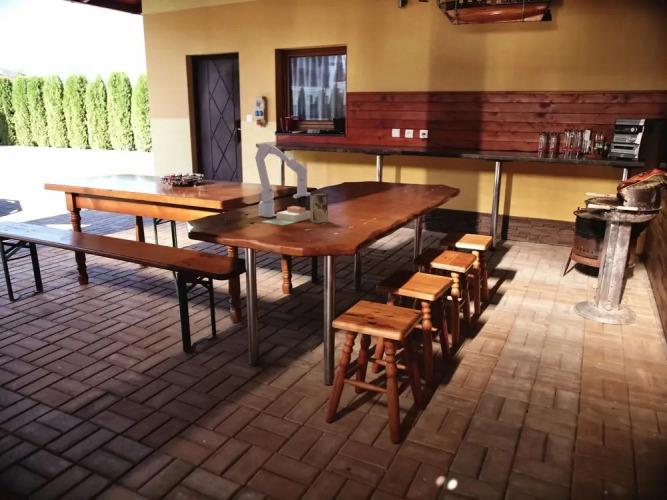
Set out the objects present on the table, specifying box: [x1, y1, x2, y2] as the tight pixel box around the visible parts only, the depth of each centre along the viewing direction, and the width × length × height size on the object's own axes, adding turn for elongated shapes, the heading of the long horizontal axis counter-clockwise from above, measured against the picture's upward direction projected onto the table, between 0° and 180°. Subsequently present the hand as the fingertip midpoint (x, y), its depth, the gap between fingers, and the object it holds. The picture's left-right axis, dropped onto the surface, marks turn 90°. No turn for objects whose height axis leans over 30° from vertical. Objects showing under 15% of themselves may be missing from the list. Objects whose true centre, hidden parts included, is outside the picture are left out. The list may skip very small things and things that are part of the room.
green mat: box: [261, 218, 297, 227], centre depth 304 cm, size 16×12×1 cm
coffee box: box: [309, 193, 329, 224], centre depth 305 cm, size 9×6×16 cm
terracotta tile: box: [286, 205, 306, 213], centre depth 315 cm, size 9×6×2 cm, turn 55°
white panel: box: [276, 210, 310, 223], centre depth 314 cm, size 14×16×4 cm
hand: (302, 208), depth 320 cm, fingers closed
